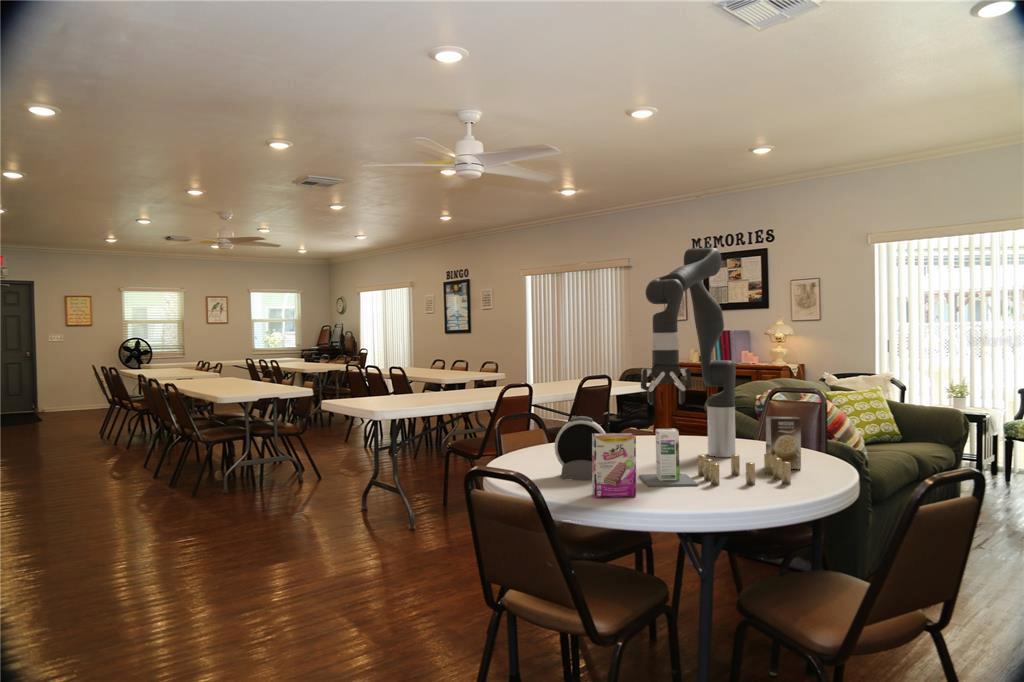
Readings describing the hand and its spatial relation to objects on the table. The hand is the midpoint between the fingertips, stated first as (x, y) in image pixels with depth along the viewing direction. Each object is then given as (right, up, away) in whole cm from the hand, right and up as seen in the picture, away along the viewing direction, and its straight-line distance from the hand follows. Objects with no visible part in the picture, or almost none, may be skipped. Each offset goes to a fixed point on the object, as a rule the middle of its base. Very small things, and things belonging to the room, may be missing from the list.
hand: (666, 404), depth 196 cm
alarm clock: (-24, -23, +8) cm, 34 cm away
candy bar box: (-18, -23, -17) cm, 34 cm away
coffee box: (+40, -22, +16) cm, 49 cm away
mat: (0, -22, 0) cm, 22 cm away
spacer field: (+22, -22, +1) cm, 31 cm away
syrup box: (0, -22, 0) cm, 22 cm away
